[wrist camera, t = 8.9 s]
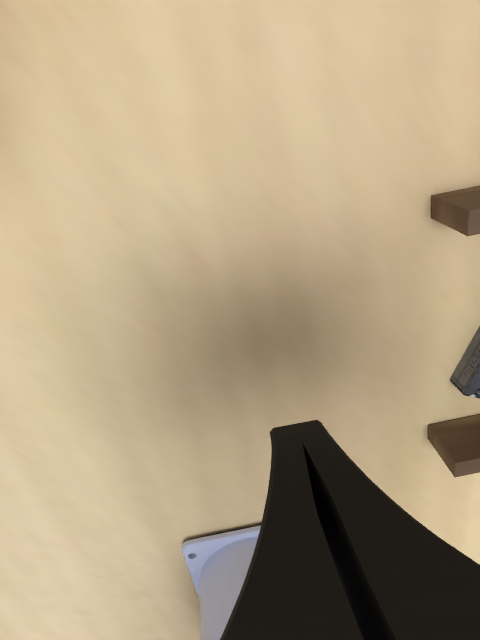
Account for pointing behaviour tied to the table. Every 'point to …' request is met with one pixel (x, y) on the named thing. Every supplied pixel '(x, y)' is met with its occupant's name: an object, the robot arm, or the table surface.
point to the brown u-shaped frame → (474, 431)
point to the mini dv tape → (469, 369)
